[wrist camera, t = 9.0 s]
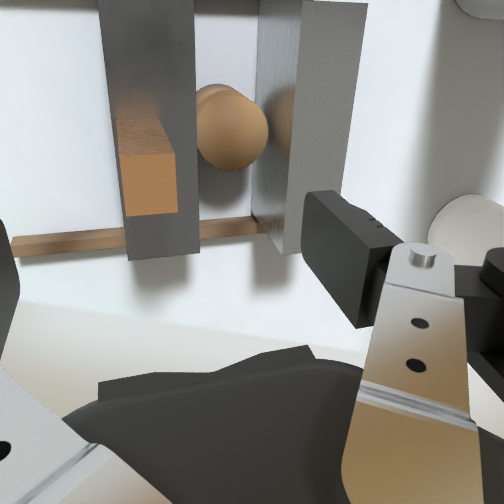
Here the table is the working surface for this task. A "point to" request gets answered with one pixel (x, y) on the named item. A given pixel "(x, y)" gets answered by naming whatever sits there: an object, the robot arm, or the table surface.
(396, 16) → the table surface
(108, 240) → the press frame
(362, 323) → the robot arm
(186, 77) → the press jaw
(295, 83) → the grey rectangular block
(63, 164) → the table surface
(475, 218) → the bottle
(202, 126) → the nut
